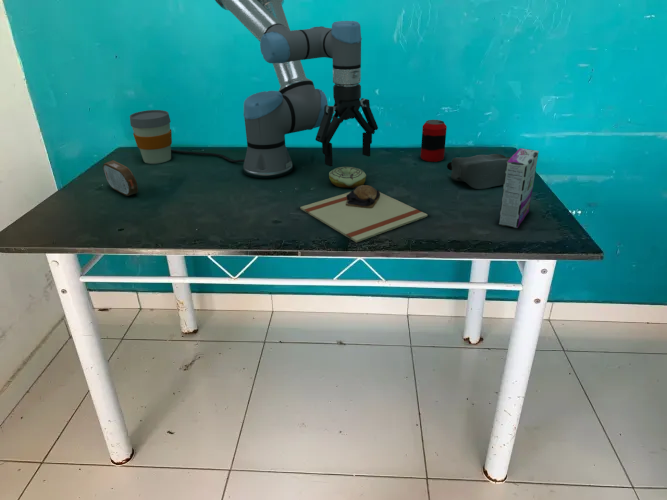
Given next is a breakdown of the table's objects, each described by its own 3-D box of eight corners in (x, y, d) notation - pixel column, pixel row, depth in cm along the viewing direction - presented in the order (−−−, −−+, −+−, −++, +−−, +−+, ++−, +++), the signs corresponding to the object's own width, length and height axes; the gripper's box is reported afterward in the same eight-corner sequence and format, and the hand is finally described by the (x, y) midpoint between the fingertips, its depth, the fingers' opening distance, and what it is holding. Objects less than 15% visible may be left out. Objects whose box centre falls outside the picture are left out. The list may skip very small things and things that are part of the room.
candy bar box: (509, 208, 136) (519, 147, 128) (529, 212, 134) (540, 150, 126) (496, 224, 128) (506, 160, 120) (517, 229, 126) (528, 164, 118)
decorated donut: (353, 192, 147) (352, 180, 146) (322, 184, 153) (321, 172, 151) (372, 180, 155) (372, 168, 153) (342, 174, 160) (342, 162, 158)
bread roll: (353, 190, 147) (353, 178, 145) (382, 194, 145) (383, 181, 143) (342, 205, 138) (342, 192, 136) (373, 209, 136) (373, 196, 134)
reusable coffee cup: (148, 152, 182) (139, 109, 175) (182, 153, 180) (175, 110, 173) (131, 164, 171) (121, 119, 164) (167, 166, 170) (159, 120, 162)
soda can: (445, 162, 168) (449, 125, 162) (422, 162, 168) (424, 125, 163) (441, 154, 175) (444, 118, 169) (419, 154, 175) (421, 119, 169)
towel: (300, 208, 138) (300, 206, 138) (367, 188, 150) (367, 186, 150) (356, 242, 121) (356, 240, 121) (427, 216, 133) (427, 214, 132)
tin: (141, 196, 147) (135, 168, 143) (130, 200, 145) (124, 171, 141) (115, 183, 157) (109, 156, 152) (105, 186, 155) (98, 159, 150)
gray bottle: (500, 171, 160) (503, 146, 156) (520, 184, 150) (524, 158, 147) (444, 177, 156) (446, 152, 152) (461, 191, 147) (464, 165, 143)
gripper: (316, 92, 131) (319, 173, 141) (391, 79, 144) (389, 154, 154) (300, 88, 137) (304, 166, 147) (373, 76, 149) (373, 148, 159)
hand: (347, 160), depth 150 cm, fingers open, 13 cm apart
